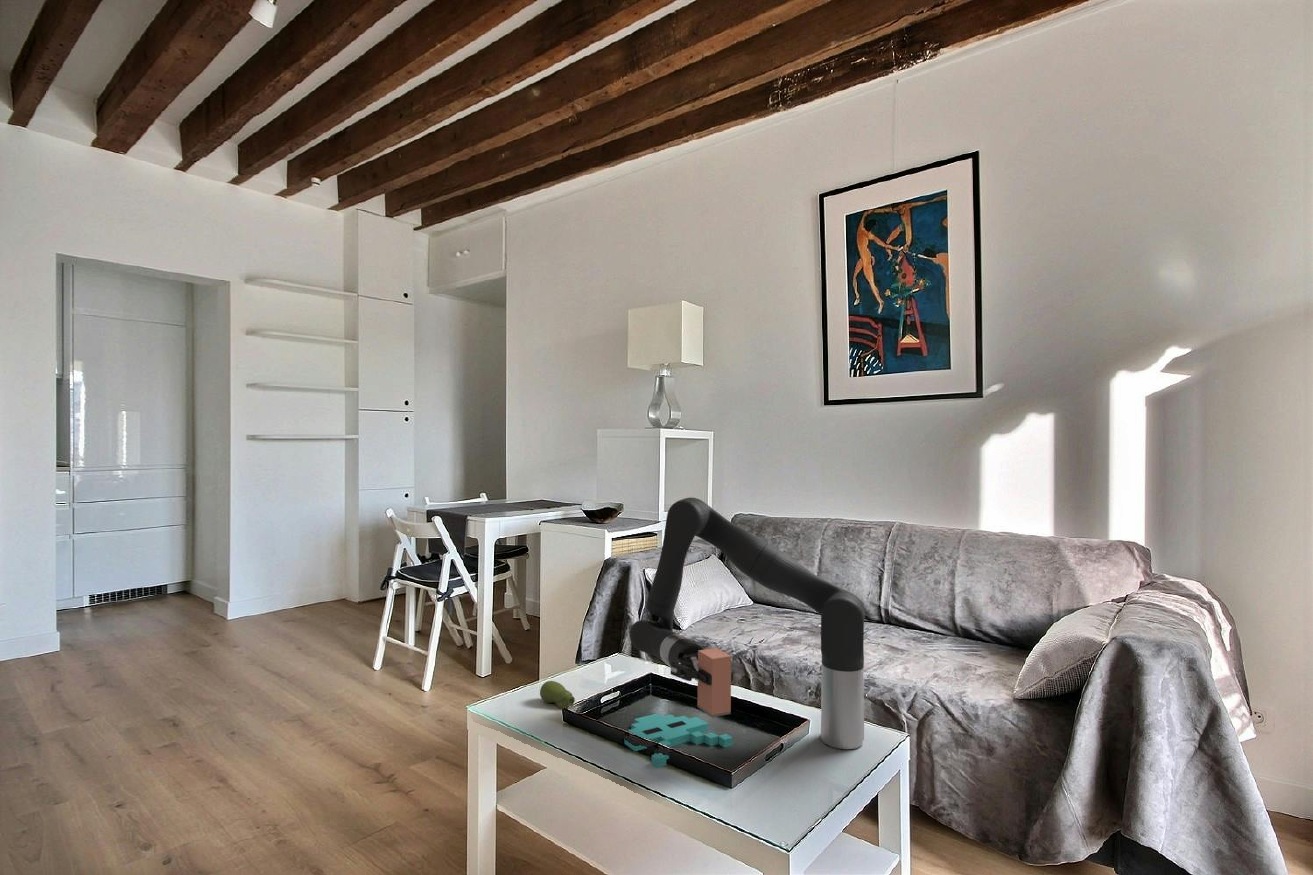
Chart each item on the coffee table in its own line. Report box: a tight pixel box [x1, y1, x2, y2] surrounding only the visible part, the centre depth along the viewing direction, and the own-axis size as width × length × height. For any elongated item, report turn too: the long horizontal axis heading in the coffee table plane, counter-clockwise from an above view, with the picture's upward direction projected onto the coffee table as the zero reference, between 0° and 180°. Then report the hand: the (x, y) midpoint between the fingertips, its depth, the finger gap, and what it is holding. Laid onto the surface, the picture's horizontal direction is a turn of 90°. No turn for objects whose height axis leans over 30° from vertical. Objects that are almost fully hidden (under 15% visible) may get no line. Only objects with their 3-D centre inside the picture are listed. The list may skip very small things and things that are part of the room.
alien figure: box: [624, 712, 734, 769], centre depth 158 cm, size 20×2×20 cm
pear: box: [539, 680, 576, 710], centre depth 178 cm, size 6×5×10 cm
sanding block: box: [696, 647, 732, 718], centre depth 146 cm, size 4×6×12 cm
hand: (720, 678), depth 144 cm, fingers closed on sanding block, 4 cm apart
